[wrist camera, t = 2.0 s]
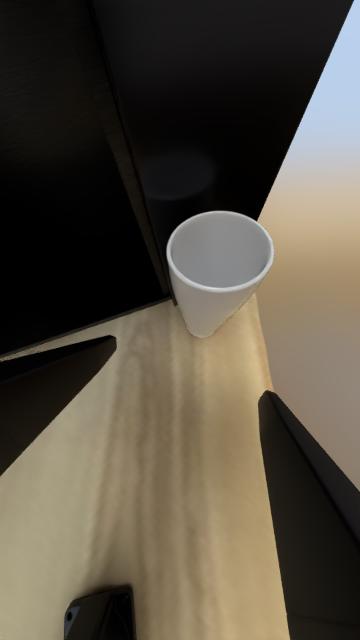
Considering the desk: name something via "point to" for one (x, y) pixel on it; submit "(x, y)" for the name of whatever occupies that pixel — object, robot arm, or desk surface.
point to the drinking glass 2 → (216, 267)
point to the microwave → (137, 141)
